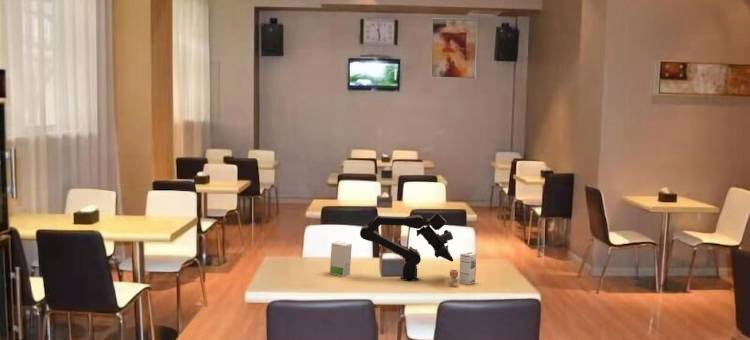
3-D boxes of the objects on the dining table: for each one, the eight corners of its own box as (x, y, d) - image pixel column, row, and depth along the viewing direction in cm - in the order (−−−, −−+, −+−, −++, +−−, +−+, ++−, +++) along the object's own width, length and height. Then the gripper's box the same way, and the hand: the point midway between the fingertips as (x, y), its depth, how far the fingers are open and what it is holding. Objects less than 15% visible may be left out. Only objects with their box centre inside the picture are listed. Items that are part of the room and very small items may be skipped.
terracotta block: (449, 279, 338) (449, 271, 338) (449, 277, 342) (450, 269, 341) (457, 280, 338) (458, 271, 337) (457, 278, 341) (458, 269, 341)
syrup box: (469, 285, 329) (471, 255, 328) (458, 282, 333) (460, 253, 331) (475, 282, 334) (476, 253, 332) (464, 280, 337) (466, 251, 336)
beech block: (449, 286, 325) (449, 278, 325) (449, 284, 329) (449, 275, 329) (457, 287, 325) (458, 278, 324) (457, 285, 329) (458, 276, 328)
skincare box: (329, 274, 339) (330, 243, 337) (336, 271, 345) (337, 240, 343) (344, 277, 335) (345, 245, 333) (351, 274, 341) (352, 242, 339)
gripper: (443, 229, 322) (465, 254, 322) (444, 222, 341) (465, 245, 341) (425, 245, 324) (447, 270, 324) (427, 236, 343) (448, 260, 343)
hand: (452, 260), depth 333 cm, fingers closed
